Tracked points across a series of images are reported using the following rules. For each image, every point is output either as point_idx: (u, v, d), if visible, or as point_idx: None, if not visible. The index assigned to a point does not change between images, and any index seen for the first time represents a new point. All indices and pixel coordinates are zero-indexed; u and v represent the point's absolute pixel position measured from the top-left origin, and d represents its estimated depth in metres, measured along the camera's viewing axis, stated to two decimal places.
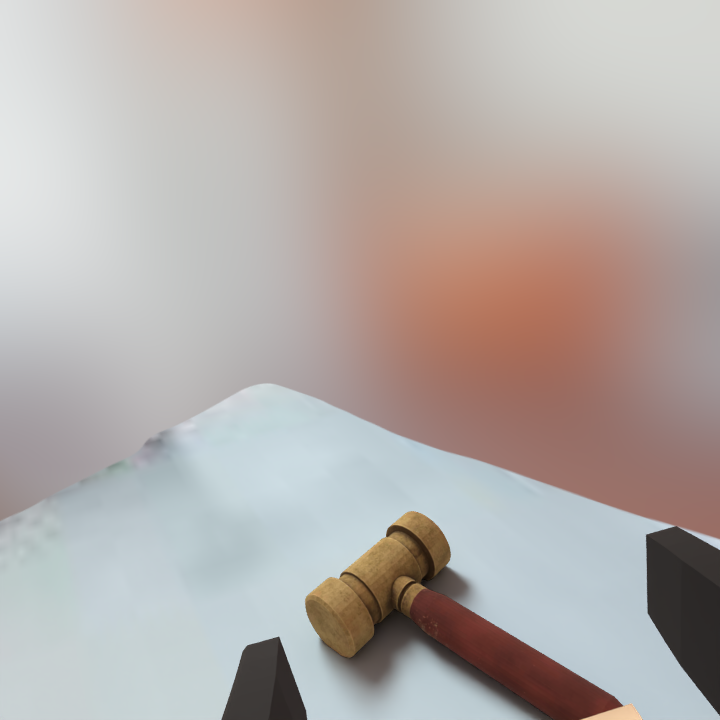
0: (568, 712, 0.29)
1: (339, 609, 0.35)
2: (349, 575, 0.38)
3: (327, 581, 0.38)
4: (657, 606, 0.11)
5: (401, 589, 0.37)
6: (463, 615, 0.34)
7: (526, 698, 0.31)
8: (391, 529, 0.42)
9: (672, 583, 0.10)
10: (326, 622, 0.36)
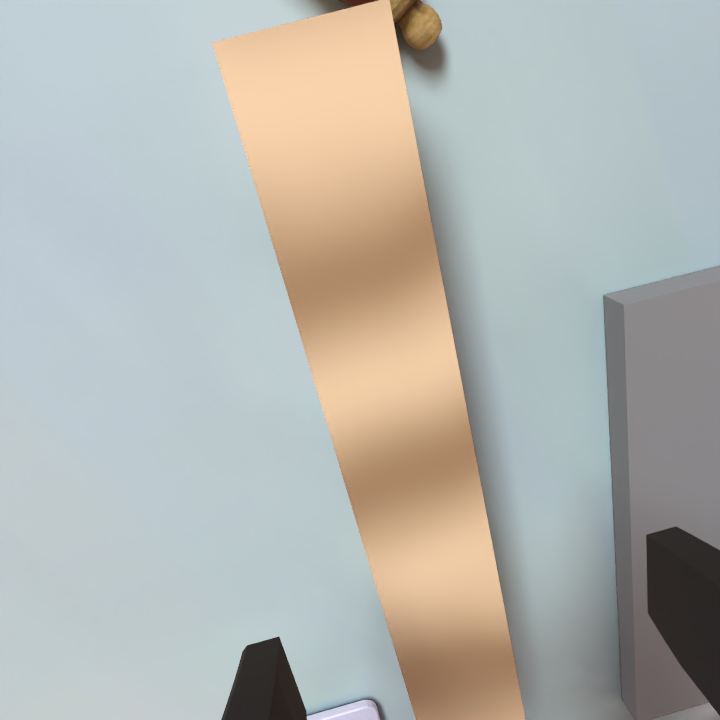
0: None
1: None
2: None
3: None
4: (657, 606, 0.11)
5: None
6: None
7: None
8: None
9: (672, 583, 0.10)
10: None
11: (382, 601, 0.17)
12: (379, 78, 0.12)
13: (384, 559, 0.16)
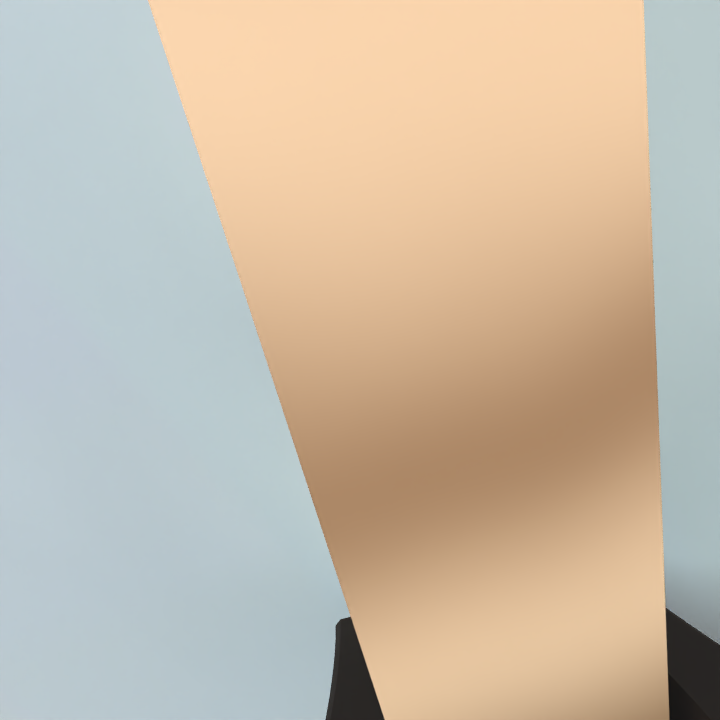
0: None
1: None
2: None
3: None
4: None
5: None
6: None
7: None
8: None
9: None
10: None
11: None
12: None
13: None
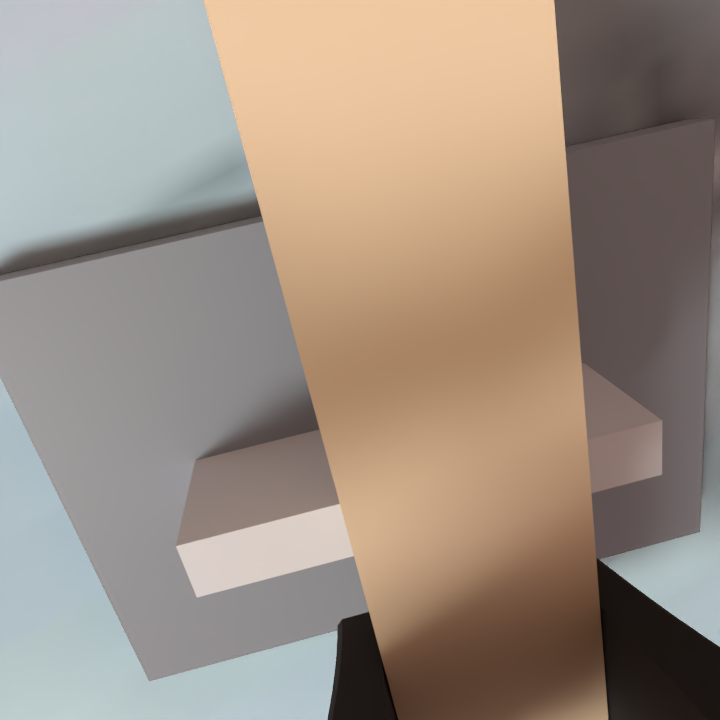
0: None
1: None
2: None
3: None
4: None
5: None
6: None
7: None
8: None
9: None
10: None
11: None
12: None
13: None
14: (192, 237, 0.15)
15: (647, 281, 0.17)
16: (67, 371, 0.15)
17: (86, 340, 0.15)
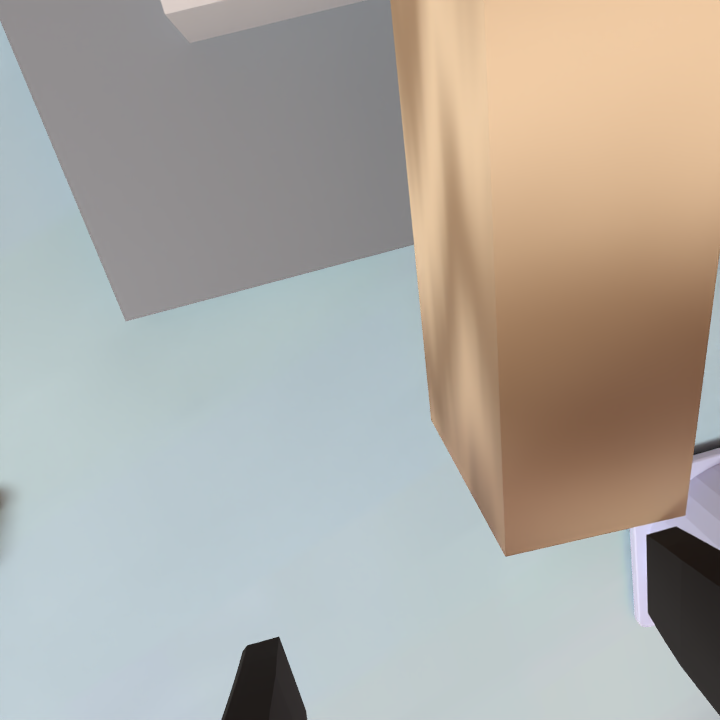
0: None
1: None
2: None
3: None
4: (657, 606, 0.11)
5: None
6: None
7: None
8: None
9: (672, 583, 0.10)
10: None
11: (492, 113, 0.07)
12: None
13: None
14: None
15: None
16: None
17: None
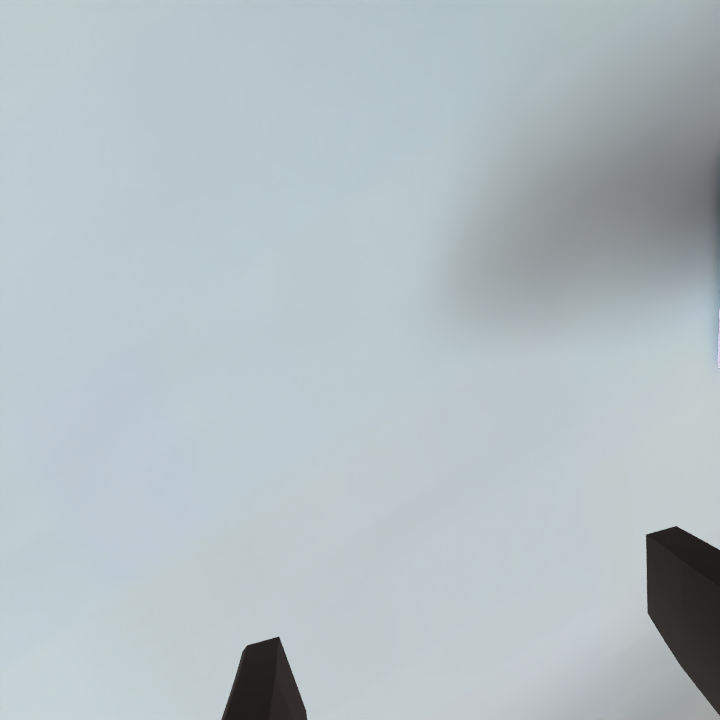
0: None
1: None
2: None
3: None
4: (657, 606, 0.11)
5: None
6: None
7: None
8: None
9: (672, 583, 0.10)
10: None
11: None
12: None
13: None
14: None
15: None
16: None
17: None
